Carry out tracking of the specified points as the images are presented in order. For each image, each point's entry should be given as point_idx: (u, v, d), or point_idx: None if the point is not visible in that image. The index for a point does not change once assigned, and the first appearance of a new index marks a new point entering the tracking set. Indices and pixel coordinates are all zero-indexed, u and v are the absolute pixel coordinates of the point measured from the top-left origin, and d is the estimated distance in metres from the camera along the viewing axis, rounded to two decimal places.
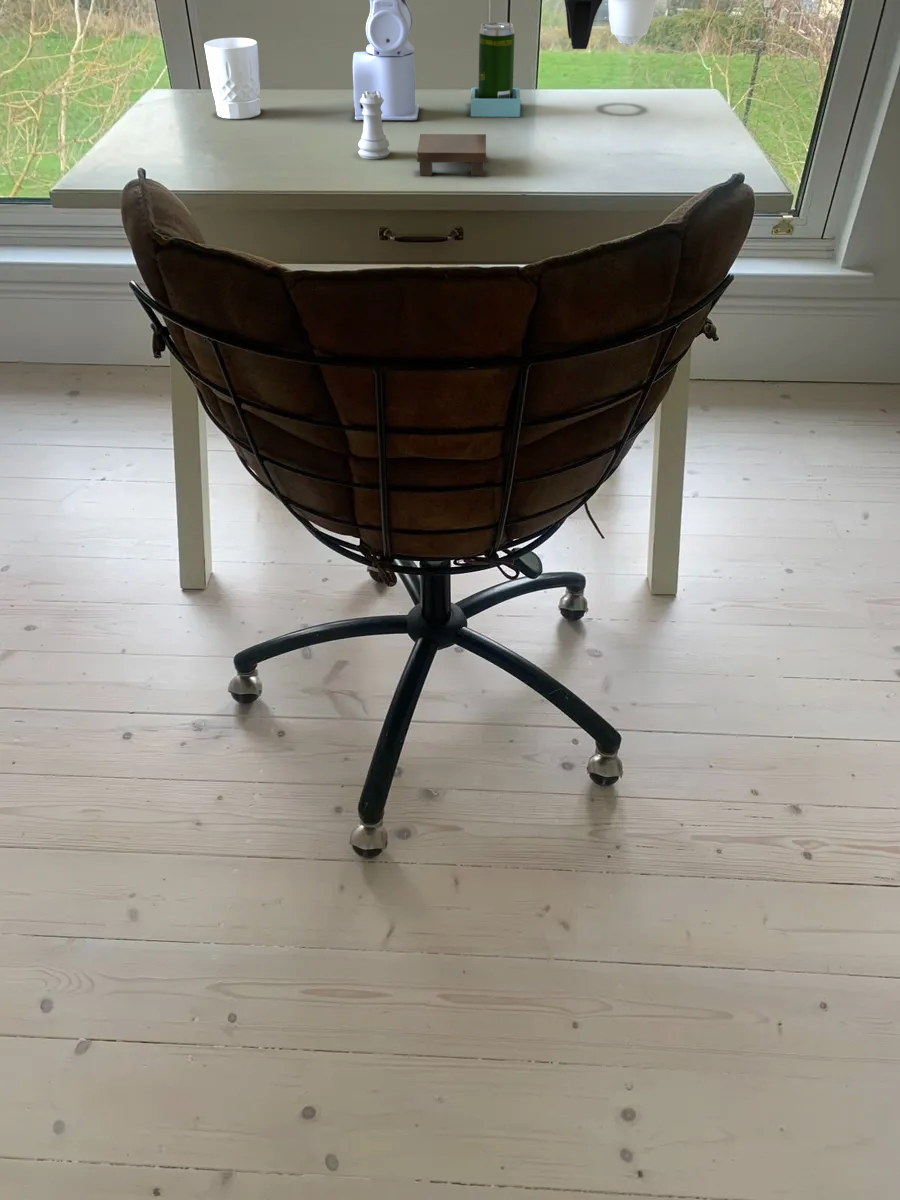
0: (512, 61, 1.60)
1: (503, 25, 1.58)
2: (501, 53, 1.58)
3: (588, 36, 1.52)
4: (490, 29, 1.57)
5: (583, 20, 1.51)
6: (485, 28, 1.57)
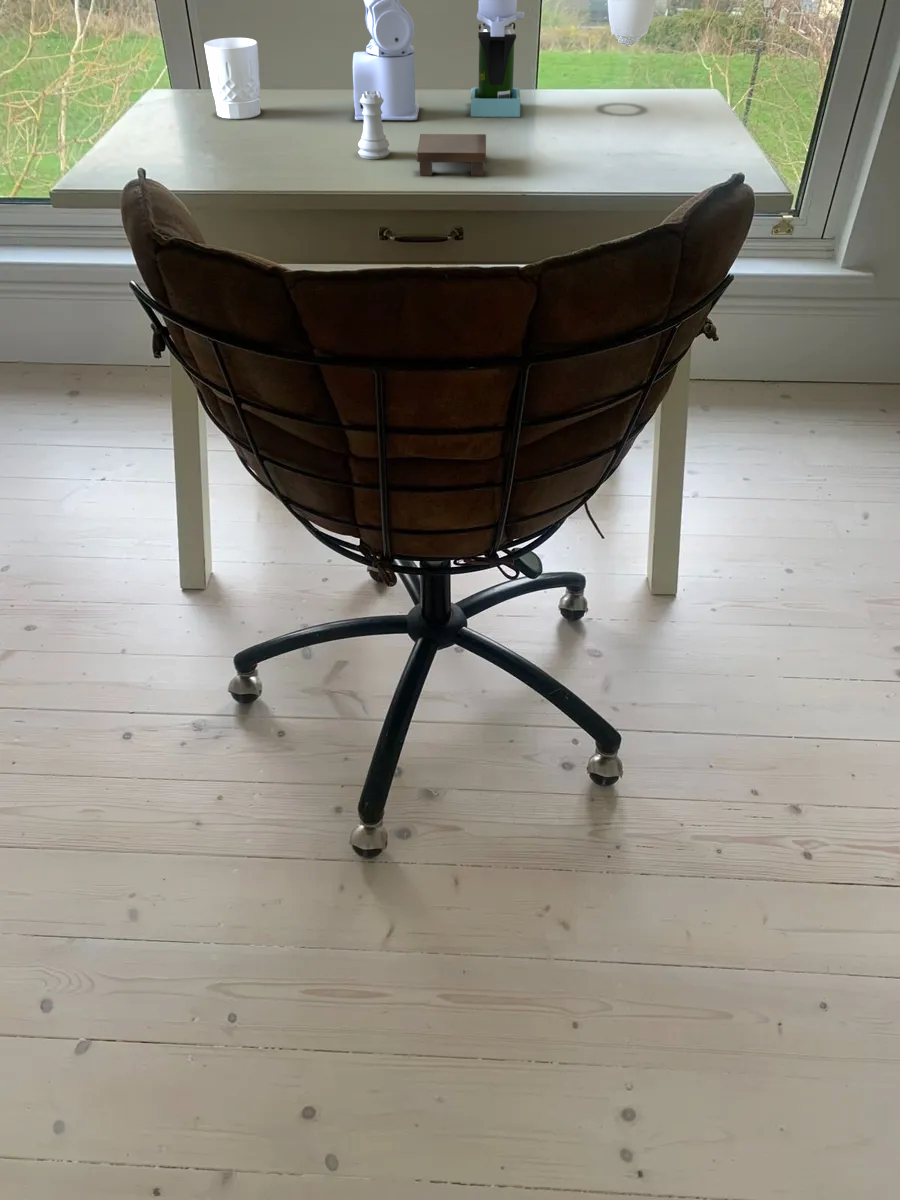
0: (512, 61, 1.60)
1: None
2: None
3: (504, 73, 1.59)
4: (490, 29, 1.57)
5: (498, 58, 1.58)
6: (485, 28, 1.57)
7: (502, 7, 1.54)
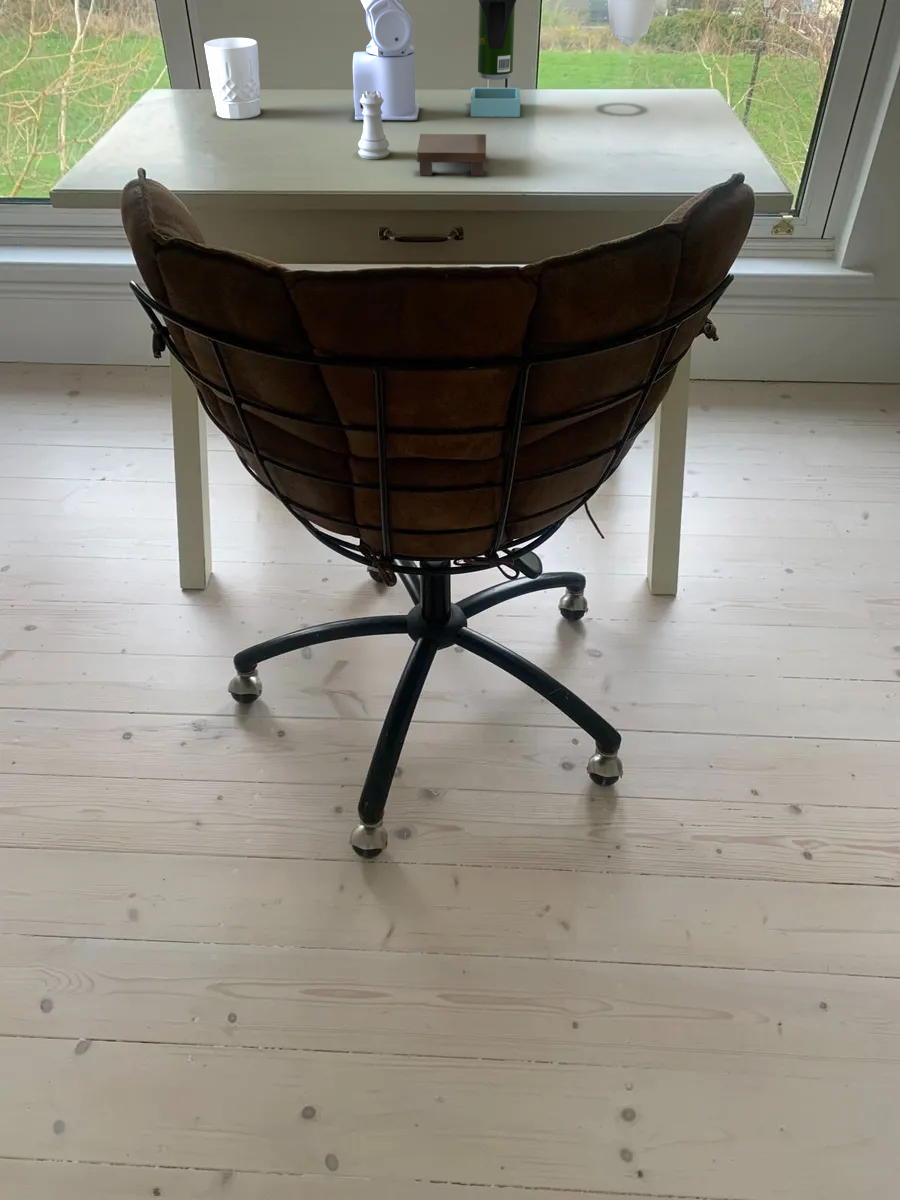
0: (512, 25, 1.57)
1: None
2: None
3: (504, 36, 1.56)
4: None
5: (498, 20, 1.55)
6: None
7: None
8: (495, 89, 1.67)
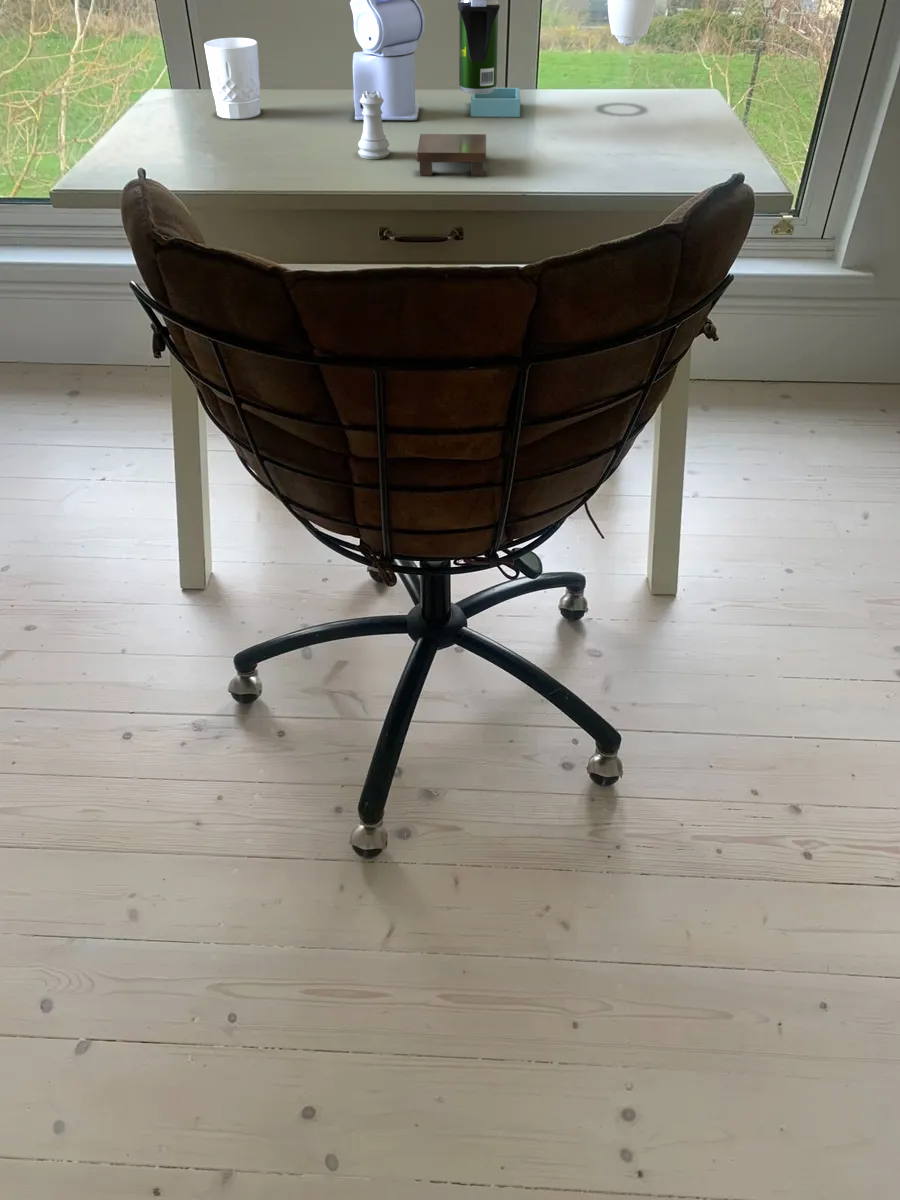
0: (496, 35, 1.46)
1: None
2: None
3: (486, 48, 1.44)
4: None
5: (480, 31, 1.43)
6: None
7: None
8: (495, 89, 1.67)
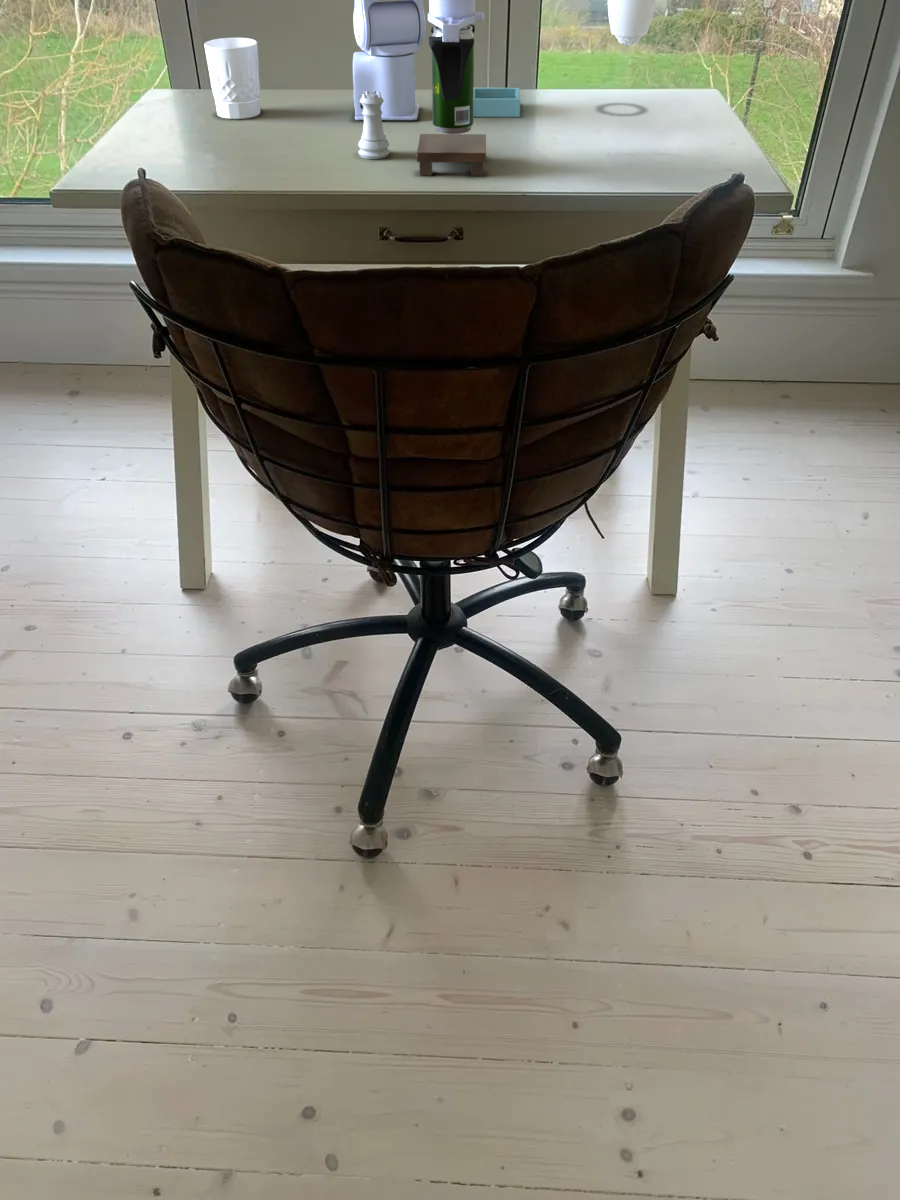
0: (472, 71, 1.34)
1: None
2: None
3: (460, 85, 1.33)
4: None
5: (453, 67, 1.32)
6: (438, 31, 1.31)
7: (456, 7, 1.28)
8: (495, 89, 1.67)
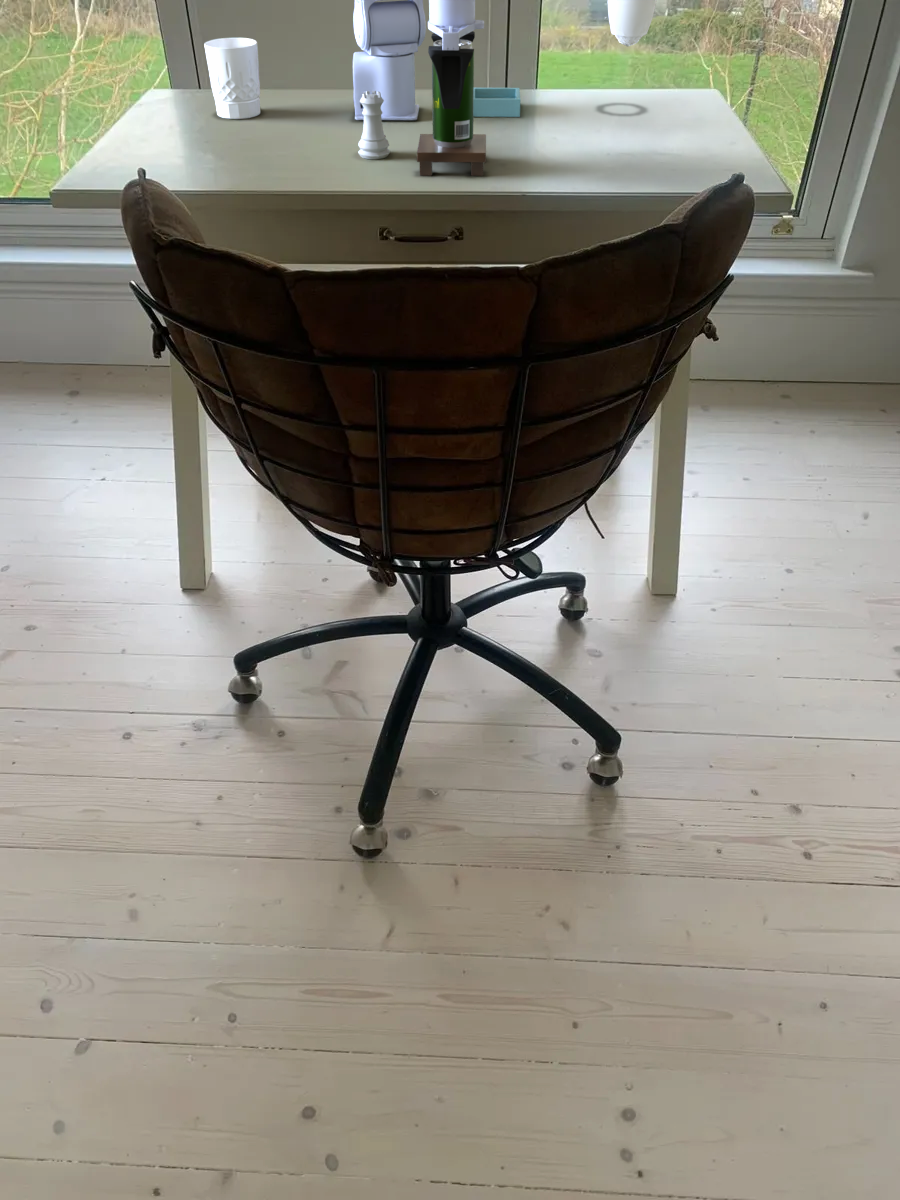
0: (471, 86, 1.35)
1: (460, 43, 1.33)
2: None
3: (460, 94, 1.33)
4: None
5: (453, 77, 1.31)
6: None
7: (456, 15, 1.29)
8: (495, 89, 1.67)
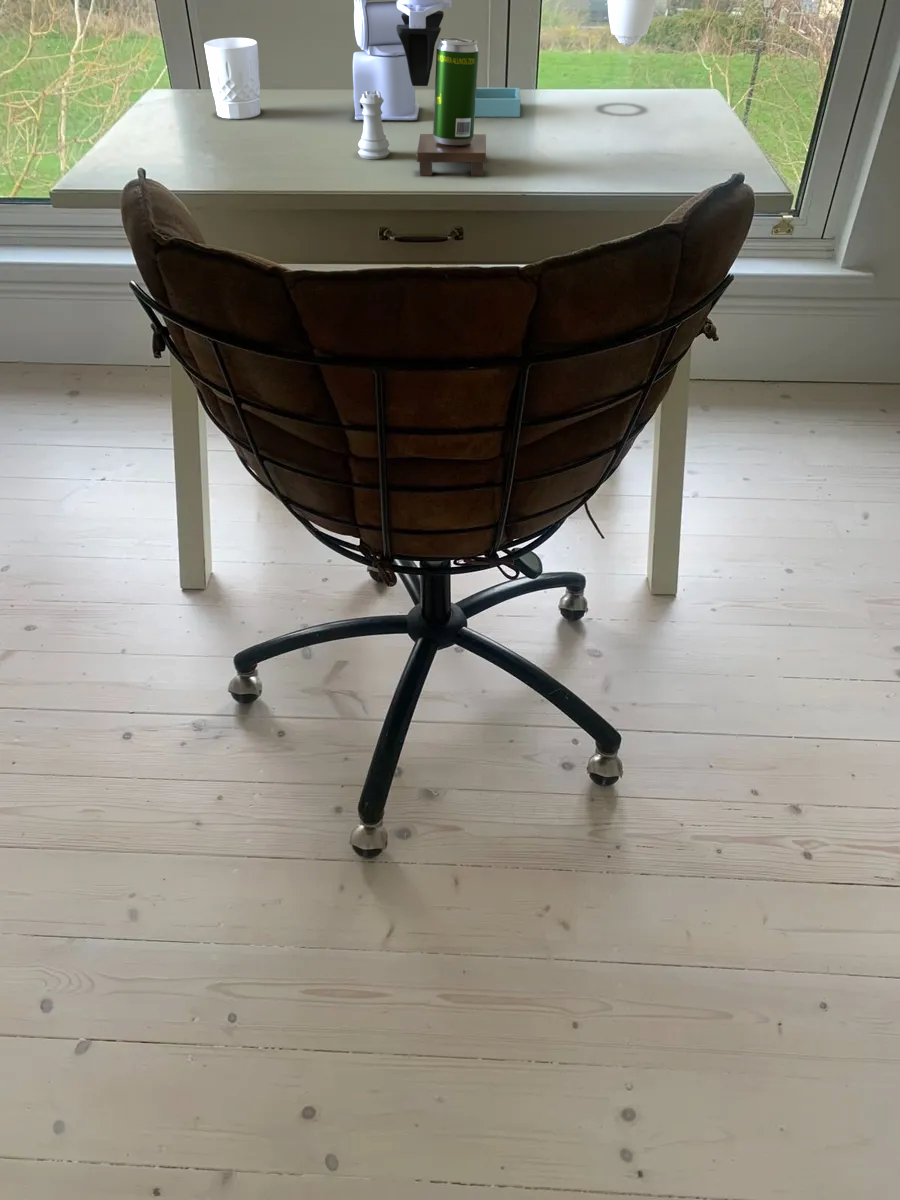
0: (474, 84, 1.35)
1: (465, 41, 1.33)
2: (461, 73, 1.33)
3: (428, 72, 1.37)
4: (449, 44, 1.32)
5: (421, 54, 1.36)
6: (443, 42, 1.32)
7: None
8: (495, 89, 1.67)
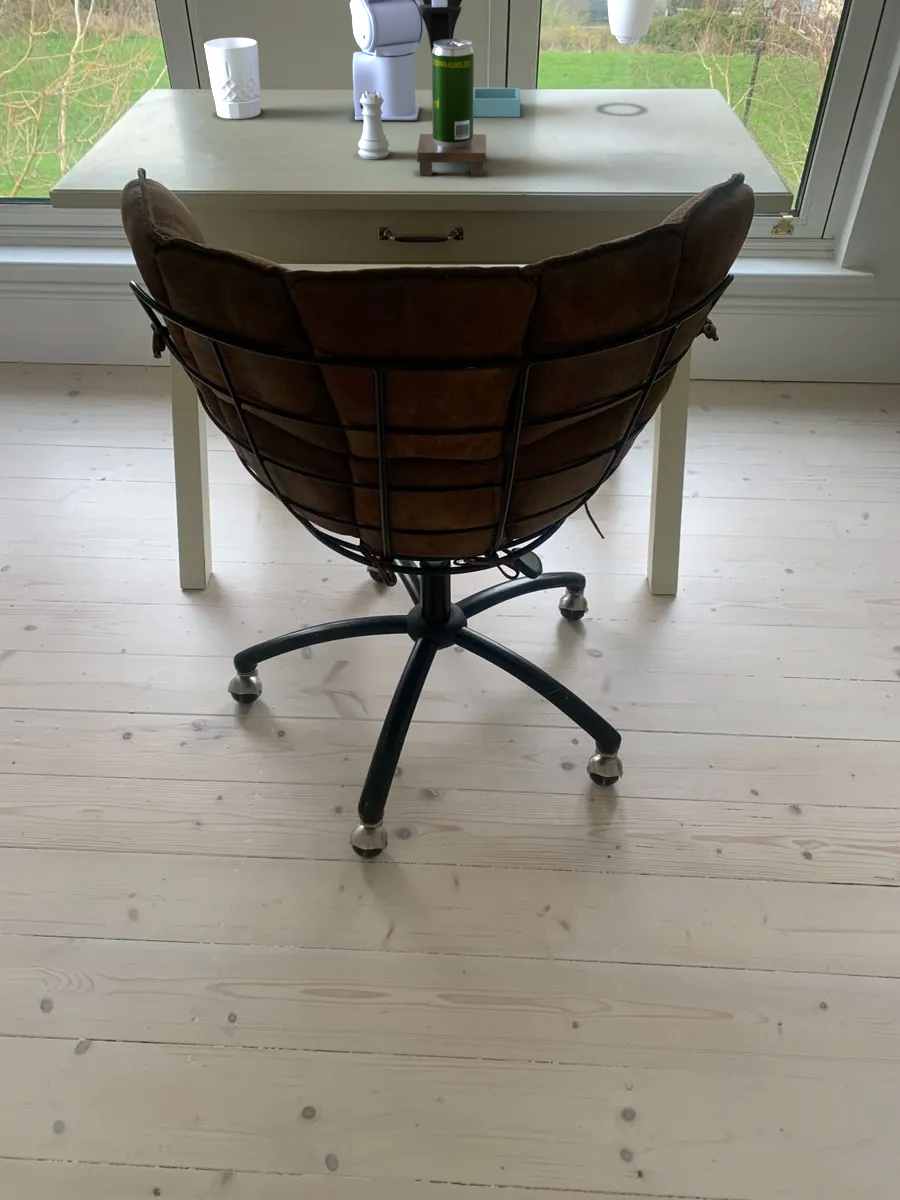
0: (471, 86, 1.35)
1: (460, 43, 1.33)
2: (457, 77, 1.33)
3: None
4: (444, 48, 1.31)
5: (442, 33, 1.42)
6: (438, 47, 1.32)
7: None
8: (495, 89, 1.67)
